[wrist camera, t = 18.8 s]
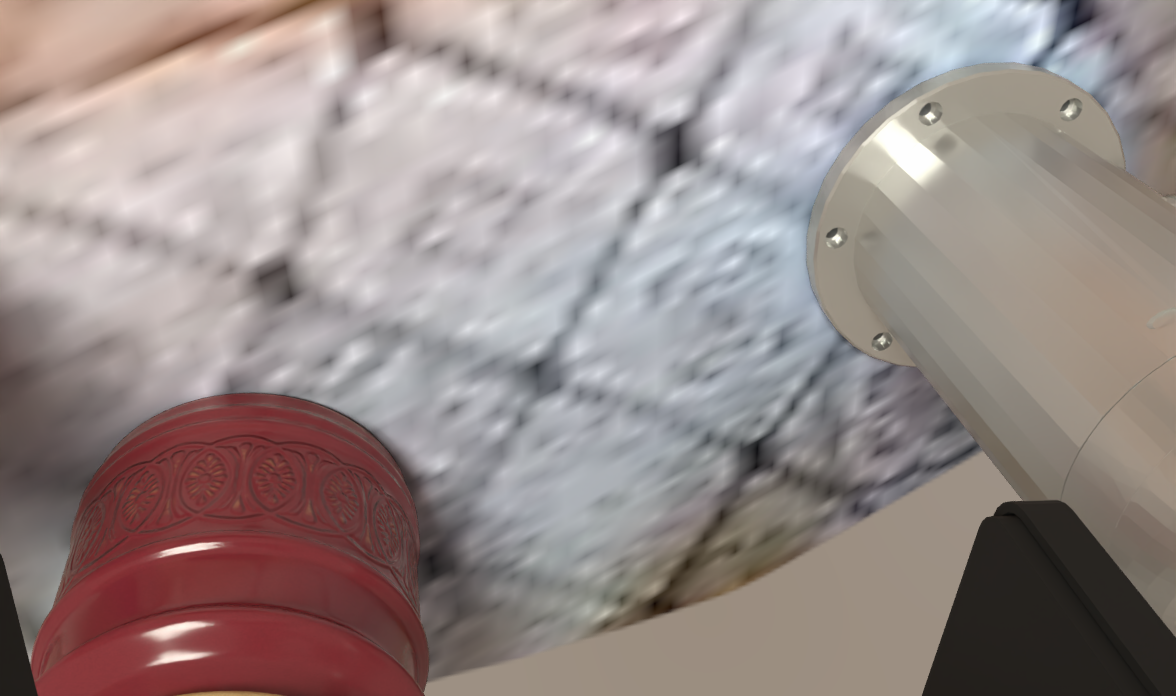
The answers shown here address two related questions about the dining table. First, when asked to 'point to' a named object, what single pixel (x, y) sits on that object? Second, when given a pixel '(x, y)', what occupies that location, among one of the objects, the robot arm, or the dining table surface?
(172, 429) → the canister
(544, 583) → the dining table surface
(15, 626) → the robot arm
